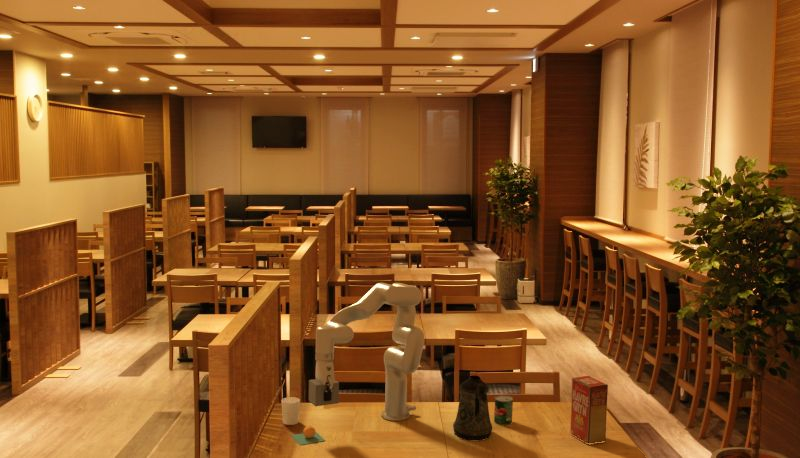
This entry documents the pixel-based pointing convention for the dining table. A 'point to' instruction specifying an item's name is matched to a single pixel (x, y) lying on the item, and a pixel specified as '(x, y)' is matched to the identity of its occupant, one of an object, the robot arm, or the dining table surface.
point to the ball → (309, 432)
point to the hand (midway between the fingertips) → (323, 397)
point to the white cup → (290, 410)
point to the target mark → (307, 439)
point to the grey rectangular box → (322, 393)
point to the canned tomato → (503, 410)
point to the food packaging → (589, 409)
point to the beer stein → (473, 411)
